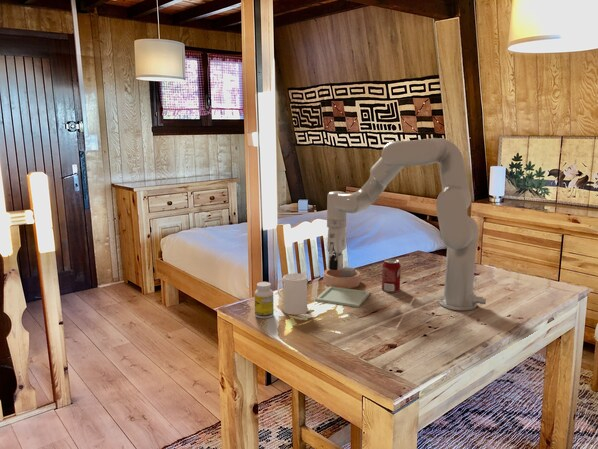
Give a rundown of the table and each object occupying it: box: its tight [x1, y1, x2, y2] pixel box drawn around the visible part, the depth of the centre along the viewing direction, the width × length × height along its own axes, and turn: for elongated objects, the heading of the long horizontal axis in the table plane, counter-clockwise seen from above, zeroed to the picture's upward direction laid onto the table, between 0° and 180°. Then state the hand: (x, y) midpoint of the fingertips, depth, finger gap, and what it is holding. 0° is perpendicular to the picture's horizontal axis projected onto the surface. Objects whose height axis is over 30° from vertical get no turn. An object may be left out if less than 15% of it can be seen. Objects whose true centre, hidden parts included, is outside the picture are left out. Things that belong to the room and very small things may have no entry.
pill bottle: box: [254, 281, 275, 319], centre depth 164 cm, size 6×6×11 cm
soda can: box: [381, 258, 402, 293], centre depth 188 cm, size 7×7×12 cm
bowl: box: [322, 267, 361, 289], centre depth 197 cm, size 14×14×4 cm
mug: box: [276, 272, 308, 316], centre depth 169 cm, size 12×8×12 cm
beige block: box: [327, 253, 344, 270], centre depth 197 cm, size 4×4×6 cm
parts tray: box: [315, 286, 371, 308], centre depth 181 cm, size 16×15×1 cm
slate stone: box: [340, 266, 356, 277], centre depth 196 cm, size 4×4×6 cm
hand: (335, 267), depth 197 cm, fingers closed on beige block, 4 cm apart
